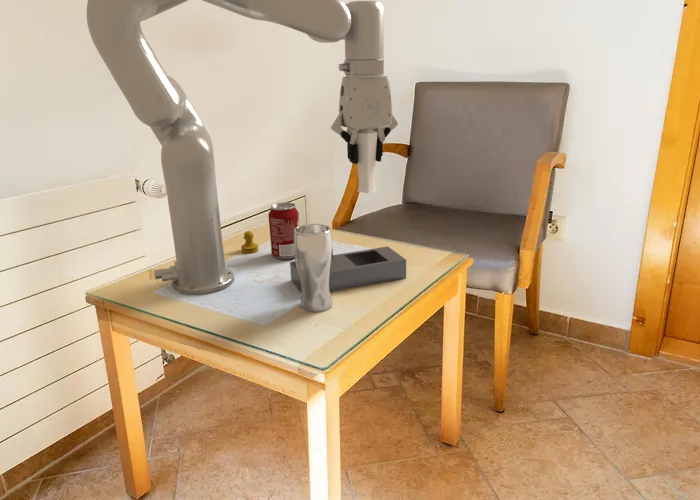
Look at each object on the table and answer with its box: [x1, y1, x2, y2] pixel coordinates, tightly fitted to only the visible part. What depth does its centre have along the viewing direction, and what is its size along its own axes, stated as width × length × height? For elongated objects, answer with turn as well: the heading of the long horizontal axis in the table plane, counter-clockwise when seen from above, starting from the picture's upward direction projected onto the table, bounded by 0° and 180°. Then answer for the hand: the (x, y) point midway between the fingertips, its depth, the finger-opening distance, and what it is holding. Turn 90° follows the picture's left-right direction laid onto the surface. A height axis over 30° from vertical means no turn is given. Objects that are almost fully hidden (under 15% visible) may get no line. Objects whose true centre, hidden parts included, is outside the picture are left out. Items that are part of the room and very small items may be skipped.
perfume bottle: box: [356, 129, 377, 194], centre depth 122 cm, size 5×4×15 cm
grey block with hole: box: [289, 246, 407, 293], centre depth 122 cm, size 22×9×4 cm, turn 111°
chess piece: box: [240, 230, 259, 255], centre depth 140 cm, size 4×4×5 cm
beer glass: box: [294, 223, 334, 313], centre depth 109 cm, size 7×7×15 cm
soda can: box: [267, 201, 300, 261], centre depth 135 cm, size 7×7×12 cm
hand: (365, 160), depth 123 cm, fingers closed on perfume bottle, 4 cm apart
